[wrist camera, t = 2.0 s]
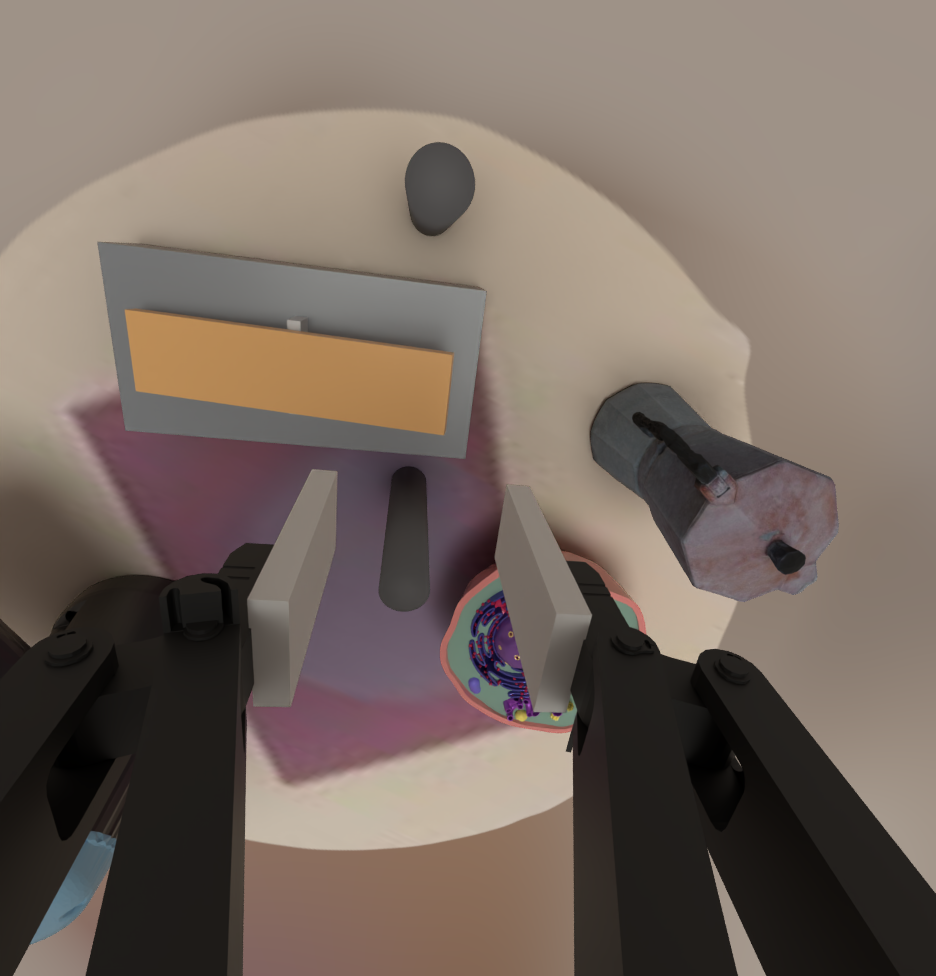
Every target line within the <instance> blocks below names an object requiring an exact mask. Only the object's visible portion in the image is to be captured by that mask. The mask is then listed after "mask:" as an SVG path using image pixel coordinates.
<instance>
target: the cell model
mask: <svg viewBox="0 0 936 976" xmlns="http://www.w3.org/2000/svg"><path fill="white" fill-rule="evenodd" d="M561 552H562V554H563V556H564V558H565V560H566V561H580V562H586V563H587V564H589V565H590V566H591V567H592V568H594V569H595V570H596V571H597V572H598V573H599V574H600V576H601V578H602V580H603V581H604V583H605V587H607V588H608V590H609V592H610V594H611V597H613V599H614V601H615V602H616V604H617V606H618V608H619V609H620V611H621V613H622V615H623V616H624V618H625V620H626V622H627V624H628V625H629V627H632V628H635V629H637V630H639V631H641V632H643V633H644V634H646V628H645V622H644V618H643V615H642V612H641V610H640V608H639V607H638V605H637V604H636V603H635V602H634V601H633V600H632V599H631V597H630V596H629V595H628V594H627V592H626V591H625V590H624V589H623V587H622V586H621V585H620V584H619V583H618V582H617V581H616V580H615V579H614V578H613V577H612V576H611V575H610V574H609V573H607V572H606V571H605V570H604V569H603V568H602V567H600V566H599V565H598V564H596V563H595V562H593V561H591V560H589V559H586V558H583V557H581V556H578V555H576V554H573V553H570V552H565V551H561ZM440 660H441V665H442V667H443V669H444V672H445V673H446V674H447V676H448V677H449V679H450V680H451V681H452V683H453V684H454V686H455V687H456V689H457V690H458V692H459V693H460V695H461V696H462V698H463V699H465V700H466V701H467V702H468V703H469V704H470V705H472V706H473V707H475V708H477V709H478V710H480V711H481V712H483V713H484V714H486V715H488V716H490V717H491V718H493V719H496V720H498V721H500V722H502V723H505V724H508V725H511V726H515V727H521V728H526V729H532V730H538V731H545V732H551V733H566V732H570V731H571V730H572V727H573V723H574V720H575V716H576V712H577V708H576V705H575V703H574V700H573V697H572V694H571V696H570V700H569V703H568V707H567V711H566V713H558V712H534V711H533V707H532V704H531V700H530V696H529V692H528V688H527V684H526V680H525V676H524V672H523V668H522V664H521V660H520V656H519V652H518V648H517V644H516V640H515V636H514V632H513V628H512V624H511V620H510V617H509V613H508V609H507V605H506V601H505V597H504V593H503V589H502V585H501V581H500V577H499V573H498V569H497V565H496V563H494V564H492V565H490V566H489V567H487V568H486V569H485V570H483V571H481V572H480V573H479V574H477V575H476V576H475V577H474V578H473V579H472V580H471V581H470V582H469V584H468V585H467V587H466V589H465V591H464V593H463V595H462V597H461V599H460V601H459V603H458V605H457V607H456V609H455V612H454V615H453V617H452V620H451V623H450V626H449V628H448V630H447V632H446V634H445V636H444V638H443V640H442V643H441V647H440Z"/></svg>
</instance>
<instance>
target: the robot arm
mask: <svg viewBox="0 0 936 976" xmlns="http://www.w3.org/2000/svg"><path fill="white" fill-rule="evenodd" d="M336 509H337V471H328V470H315V469H312V470H311V472H310V474H309V476H308V478H307V480H306V482H305V484H304V486H303V488H302V490H301V492H300V494H299V496H298V498H297V500H296V502H295V504H294V506H293V508H292V510H291V512H290V514H289V516H288V518H287V520H286V522H285V524H284V526H283V528H282V530H281V532H280V534H279V536H278V538H277V541H276V543H275V545H270V544H253V543H245V544H244V545H242V546H241V547H239V548H238V549H236V550H235V551H233V552H232V553H231V554H230V555H229V557H228V559H227V560H226V562H225V563H224V565H223V568H221V570H220V571H219V573H218V574H197V575H191V576H187V577H184V578H182V579H179V580H176V581H174V582H173V581H170V580H166V579H162V578H157V577H150V576H122V577H116V578H111V579H108V580H104V581H102V582H99V583H97V584H95V585H93V586H91V587H89V588H88V589H86V590H85V591H83V592H82V593H81V594H80V595H79V596H78V597H77V598H76V599H75V600H74V601H73V602H72V603H71V604H70V605H69V606H68V607H67V608H66V609H65V610H64V611H63V612H62V614H61V615H60V616H59V618H58V619H57V621H56V622H55V624H54V627H53V629H52V631H51V634H50V636H49V637H47V638H45V639H43V640H41V641H39V642H38V643H36V644H35V645H34V646H33V647H30V646H29V645H28V644H27V643H26V642H24V641H23V640H22V639H21V638H20V637H19V636H18V635H17V634H16V633H15V632H14V631H13V630H12V629H11V628H9V627H8V626H7V625H6V624H5V623H4V622H3V621H2V620H1V619H0V976H13V974H14V973H15V971H16V969H17V967H18V965H19V963H20V961H21V960H22V958H23V956H24V954H25V952H26V950H27V948H28V946H29V945H30V944H33V943H36V942H38V941H40V940H43V939H46V938H48V937H50V936H52V935H53V934H55V933H57V932H59V931H60V930H62V929H63V928H65V927H66V926H67V925H69V924H70V923H71V922H72V921H73V920H75V919H76V918H77V917H78V916H79V914H81V912H82V911H83V910H84V909H85V907H86V906H87V905H88V903H89V902H90V900H91V898H92V896H93V895H94V893H95V891H96V890H97V888H98V886H99V884H100V883H101V881H102V880H103V878H104V876H105V874H106V873H107V871H108V869H109V868H110V871H109V875H108V880H107V884H106V888H105V893H104V897H103V902H102V906H101V910H100V915H99V919H98V924H97V928H96V932H95V937H94V941H93V945H92V950H91V955H90V958H89V963H88V967H87V972H86V976H243V916H244V855H245V794H246V733H247V719H246V704H247V701H248V698H249V696H250V693H251V691H253V706H260V707H291V704H292V701H293V697H294V693H295V690H296V686H297V683H298V679H299V676H300V672H301V669H302V665H303V662H304V658H305V655H306V651H307V647H308V644H309V640H310V637H311V633H312V630H313V626H314V623H315V619H316V616H317V612H318V609H319V605H320V602H321V598H322V594H323V591H324V587H325V584H326V580H327V577H328V573H329V570H330V566H331V563H332V559H333V556H334V552H335V548H336ZM495 561H496V565H497V569H498V573H499V577H500V581H501V585H502V589H503V593H504V597H505V601H506V605H507V609H508V613H509V617H510V620H511V624H512V628H513V632H514V636H515V640H516V644H517V648H518V652H519V656H520V660H521V664H522V668H523V672H524V676H525V680H526V684H527V688H528V692H529V696H530V700H531V704H532V707H533V711H534V712H558V713H566V711H567V707H568V703H569V700H570V696H571V694H572V697H573V700H574V703H575V705H576V708H577V712H576V716H575V720H574V723H573V727H572V730H571V734H570V738H569V741H568V745H567V749H566V751H567V752H571V750H572V747H573V826H574V827H573V832H574V833H573V834H574V959H575V960H574V962H575V963H574V969H575V970H574V971H575V972H574V973H575V974H574V976H738V974H737V971H736V966H735V962H734V958H733V954H732V949H731V945H730V941H729V937H728V933H727V929H726V925H725V920H724V916H723V912H722V908H721V904H720V900H719V895H718V892H717V887H716V883H715V879H714V875H713V870H712V866H711V862H710V858H709V854H708V850H709V853H710V855H711V857H712V859H713V861H714V864H715V866H716V868H717V870H718V872H719V875H720V877H721V879H722V881H723V883H724V885H725V888H726V890H727V892H728V894H729V896H730V898H731V900H732V903H733V905H734V907H735V909H736V911H737V913H738V916H739V918H740V920H741V922H742V924H743V927H744V929H745V931H746V933H747V935H748V937H749V939H750V941H751V944H752V946H753V948H754V950H755V952H756V954H757V957H758V959H759V961H760V963H761V965H762V968H763V970H764V972H765V974H766V976H936V893H935V892H934V891H933V890H932V888H931V887H930V886H929V885H928V883H927V882H926V881H925V880H924V878H923V877H922V876H921V874H920V873H919V872H918V871H917V869H916V868H915V867H914V866H913V864H912V863H911V862H910V860H909V859H908V858H907V857H906V855H905V854H904V853H903V852H902V850H901V849H900V848H899V846H898V845H897V844H896V843H895V841H894V840H893V839H892V838H891V837H890V835H889V834H888V832H887V831H886V830H885V829H884V827H883V826H882V825H881V824H880V822H879V821H878V820H877V818H875V816H874V815H873V813H872V812H871V811H870V810H869V808H868V807H867V806H866V804H865V803H864V802H863V801H862V799H861V798H860V797H859V796H858V794H857V793H856V792H855V791H854V789H853V788H852V787H851V785H850V784H849V783H848V782H847V780H846V779H845V778H844V777H843V775H842V774H841V773H840V772H839V770H838V769H837V768H836V766H835V765H834V764H833V763H832V761H831V760H830V759H829V758H828V756H827V755H826V754H825V753H824V751H823V750H822V749H821V747H820V746H819V745H818V744H817V742H816V741H815V740H814V738H813V737H812V736H811V735H810V733H809V732H808V731H807V730H806V729H805V727H804V726H803V725H802V723H801V722H800V721H799V719H798V718H797V717H796V716H795V714H794V713H793V712H792V711H791V709H790V708H789V707H788V706H787V704H786V703H785V702H784V700H783V699H782V698H781V697H780V695H779V694H778V693H777V692H776V690H775V689H774V688H773V686H772V685H771V684H770V683H769V681H768V680H767V679H766V678H765V676H764V675H763V674H762V672H760V671H759V670H758V669H757V668H756V667H755V666H754V665H753V664H752V663H751V662H749V661H747V660H745V659H744V658H743V657H741V656H739V655H737V654H734V653H732V652H729V651H724V650H719V649H710V650H705V651H704V652H702V653H701V654H700V655H699V658H698V660H697V663H696V664H693V663H690V662H686V661H682V660H678V659H675V658H671V657H668V656H665V655H662V654H660V651H659V649H658V647H657V645H656V643H655V642H654V641H653V640H652V639H651V638H650V637H649V636H648V635H646V634H644V633H643V632H641V631H639V630H637V629H635V628H632V627H629V625H628V624H627V622H626V620H625V618H624V616H623V615H622V613H621V611H620V609H619V608H618V606H617V604H616V602H615V601H614V599H613V597H611V594H610V592H609V590H608V588H607V587H605V583H604V581H603V580H602V578H601V576H600V574H599V573H598V572H597V571H596V570H595V569H594V568H592V567H591V566H590V565H589V564H587V563H586V562H580V561H566V560H565V558H564V556H563V554H562V552H561V550H560V548H559V546H558V544H557V542H556V540H555V538H554V535H553V533H552V531H551V529H550V527H549V525H548V523H547V521H546V519H545V517H544V515H543V513H542V511H541V509H540V507H539V504H538V502H537V500H536V498H535V496H534V494H533V492H532V490H531V488H530V486H520V485H506V491H505V497H504V503H503V510H502V516H501V522H500V528H499V534H498V540H497V546H496V552H495ZM735 755H736V757H737V759H738V760H739V762H740V764H741V766H740V764H739V763H738V761H737V760H736V758H735ZM707 849H708V850H707Z"/></svg>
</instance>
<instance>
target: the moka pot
mask: <svg viewBox="0 0 936 976" xmlns="http://www.w3.org/2000/svg"><path fill="white" fill-rule="evenodd" d="M591 446H592V453H593V458H594V460H595V461H596V462H597V463H598V464H599V465H600V466H601V467H602V468H603V469H605V470H606V471H607V472H608V473H609V474H611V475H612V476H613V477H614V478H615V479H616V480H618V481H619V482H621V483H622V484H623V485H625V486H626V487H627V488H629V489H630V490H632V491H633V492H634V493H636V494H637V495H638V496H639V497H641V498H642V499H644V500H645V502H646V503H647V504H648V505H649V508H650V511H651V514H652V517H653V520H654V521H655V523H656V525H657V526H658V528H659V530H660V531H661V533H662V535H663V536H664V538H665V540H666V541H667V543H668V545H669V546H670V548H671V550H672V551H673V553H674V555H675V556H676V558H677V560H678V561H679V563H680V565H681V567H682V568H683V570H684V572H685V573H686V575H687V576H688V578H689V580H690V582H691V583H692V585H693V586H694V587H696V588H698V589H702V590H705V591H709V592H712V593H715V594H719V595H722V596H725V597H728V598H731V599H734V600H737V601H743V602H745V601H748V600H750V599H753V598H756V597H758V596H762V595H764V594H766V593H769V592H771V591H774V590H780V591H783V592H787V593H789V594H792V595H794V594H798V593H800V592H802V591H803V590H804V589H805V588H806V587H807V586H808V585H810V584H812V583H814V582H815V581H816V580H817V569H816V560H817V559H818V558H819V556H820V555H821V554H822V552H823V551H824V550H825V549H826V547H827V546H828V545H829V544H830V543H831V541H832V540H833V539H834V537H835V536H836V535H837V533H838V527H839V524H838V513H837V504H836V489H835V484H834V482H833V480H832V479H831V478H830V477H829V476H826V475H824V474H821V473H818V472H816V471H814V470H811V469H808V468H806V467H804V466H801V465H799V464H796V463H794V462H792V461H789V460H787V459H784V458H782V457H779V456H777V455H774V454H772V453H769V452H767V451H764V450H762V449H760V448H757V447H755V446H752V445H750V444H747V443H745V442H742V441H740V440H737V439H735V438H732V437H730V436H727V435H724V434H722V433H720V432H718V431H717V430H715V429H713V428H711V427H710V426H709V425H708V424H707V423H706V422H705V421H704V420H703V419H702V418H701V417H700V416H699V415H698V414H697V413H696V412H695V411H694V410H693V409H692V408H691V407H690V406H689V405H688V404H687V403H686V402H685V401H684V400H683V399H682V398H681V397H680V396H679V395H678V394H677V393H676V392H675V391H674V390H673V389H672V388H671V387H670V386H667V385H662V384H655V383H641V384H636V385H633V386H630V387H628V388H626V389H625V390H623V391H621V392H619V393H617V394H616V395H614V396H613V397H611V398H609V399H607V400H606V402H605V403H604V405H603V406H602V408H601V409H600V411H599V413H598V414H597V417H596V419H595V421H594V424H593V427H592V430H591Z"/></svg>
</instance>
